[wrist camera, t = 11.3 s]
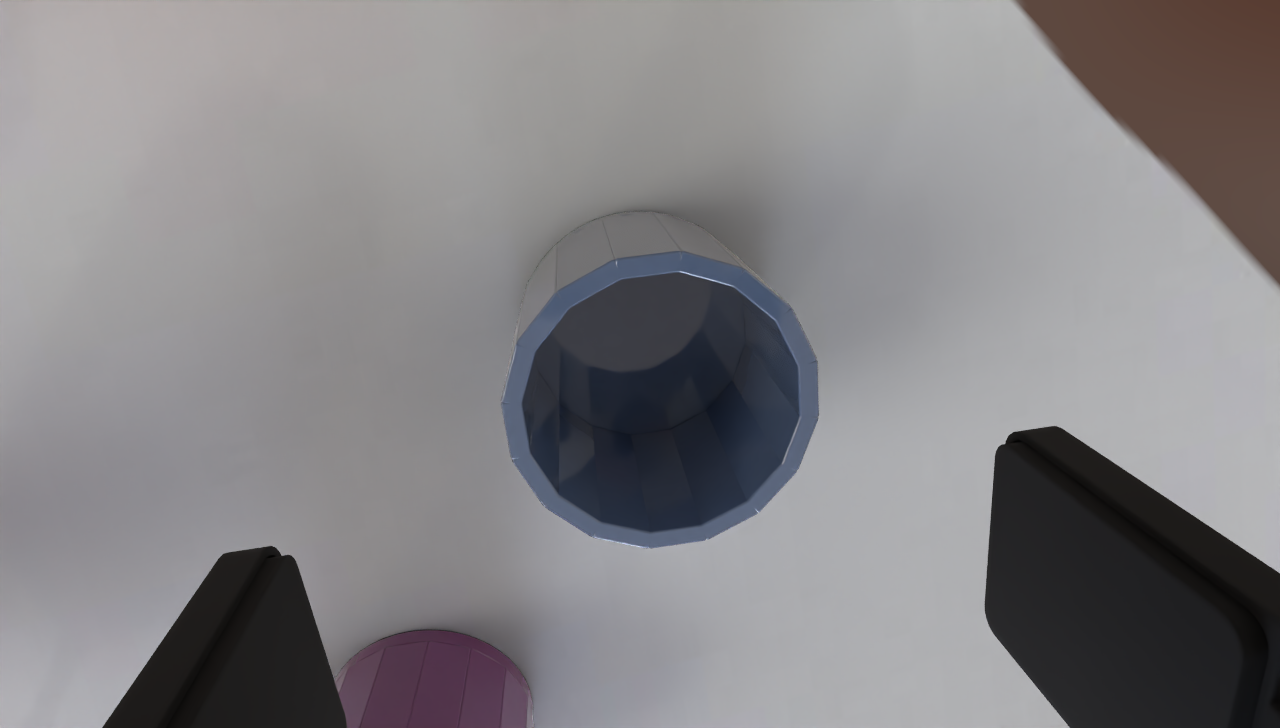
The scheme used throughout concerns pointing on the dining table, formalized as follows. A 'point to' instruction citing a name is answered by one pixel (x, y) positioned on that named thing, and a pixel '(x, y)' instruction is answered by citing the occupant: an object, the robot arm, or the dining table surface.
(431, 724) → the plum cup
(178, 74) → the dining table surface
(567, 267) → the blue faceted cup
